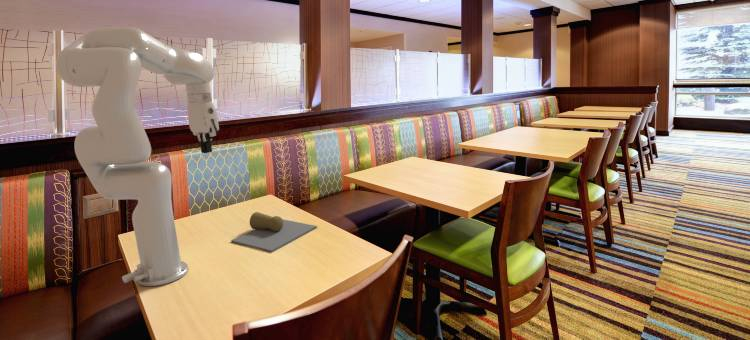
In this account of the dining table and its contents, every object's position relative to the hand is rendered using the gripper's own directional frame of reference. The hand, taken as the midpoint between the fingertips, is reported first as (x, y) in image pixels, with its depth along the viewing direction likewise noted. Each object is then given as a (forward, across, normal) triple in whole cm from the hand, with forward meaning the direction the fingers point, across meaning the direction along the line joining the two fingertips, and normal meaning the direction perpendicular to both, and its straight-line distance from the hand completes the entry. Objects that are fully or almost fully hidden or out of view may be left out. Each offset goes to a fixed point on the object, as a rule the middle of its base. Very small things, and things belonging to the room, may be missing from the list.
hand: (206, 152), depth 139 cm
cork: (+24, -16, -4) cm, 29 cm away
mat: (+27, -26, -3) cm, 38 cm away
